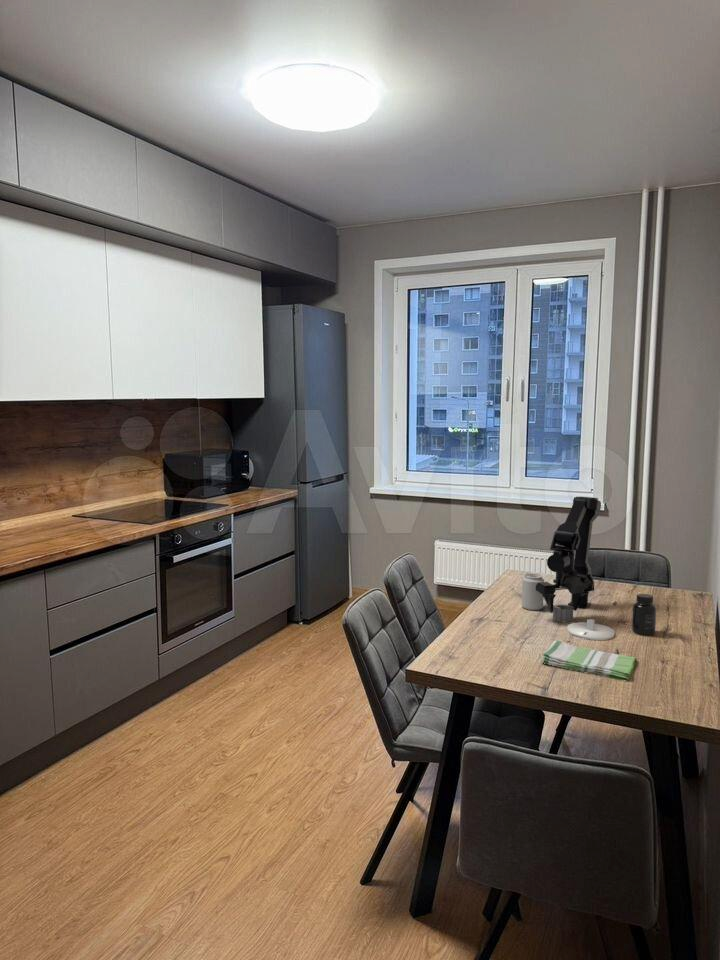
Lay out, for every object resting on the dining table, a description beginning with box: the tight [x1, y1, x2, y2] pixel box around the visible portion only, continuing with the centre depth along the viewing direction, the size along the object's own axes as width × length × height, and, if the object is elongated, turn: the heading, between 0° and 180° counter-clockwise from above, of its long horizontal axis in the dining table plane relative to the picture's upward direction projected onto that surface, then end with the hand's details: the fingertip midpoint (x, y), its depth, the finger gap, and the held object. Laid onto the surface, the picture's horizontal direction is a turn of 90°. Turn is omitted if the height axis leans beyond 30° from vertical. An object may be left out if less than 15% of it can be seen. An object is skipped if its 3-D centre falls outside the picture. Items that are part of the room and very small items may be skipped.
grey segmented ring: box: [552, 603, 574, 623], centre depth 220 cm, size 6×6×4 cm
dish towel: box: [541, 640, 638, 682], centre depth 182 cm, size 17×23×4 cm
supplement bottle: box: [631, 593, 657, 636], centre depth 206 cm, size 7×7×12 cm
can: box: [521, 572, 545, 611], centre depth 231 cm, size 8×8×12 cm
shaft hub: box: [567, 618, 615, 641], centre depth 206 cm, size 14×14×4 cm
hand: (563, 611), depth 220 cm, fingers open, 9 cm apart
